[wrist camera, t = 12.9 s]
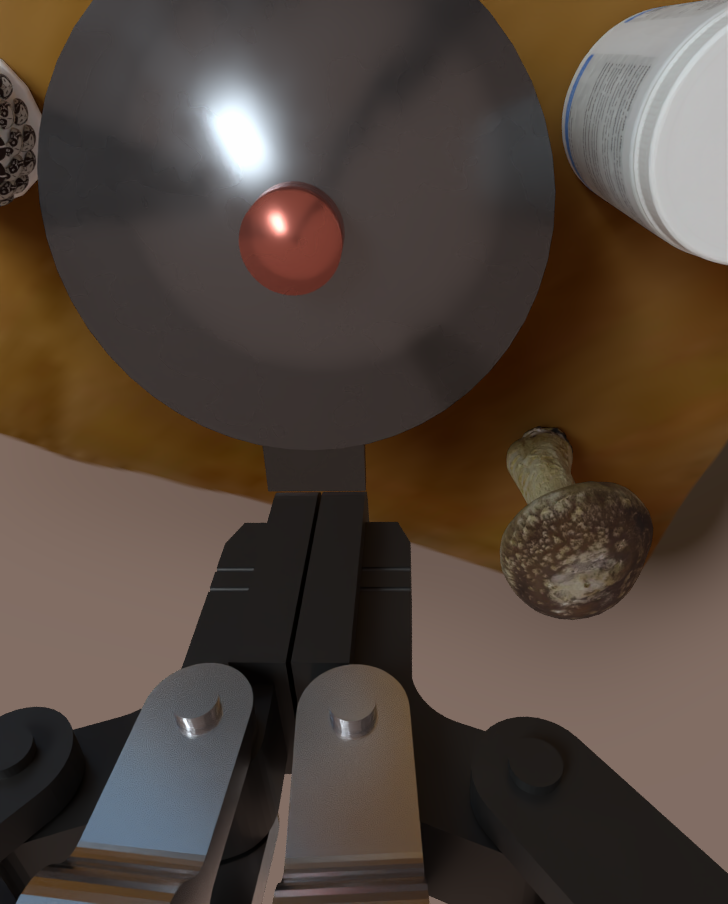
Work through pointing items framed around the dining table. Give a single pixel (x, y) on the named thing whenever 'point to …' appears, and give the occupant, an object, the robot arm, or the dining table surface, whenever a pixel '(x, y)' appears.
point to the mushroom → (570, 533)
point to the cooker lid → (298, 212)
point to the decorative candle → (17, 136)
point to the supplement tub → (658, 123)
